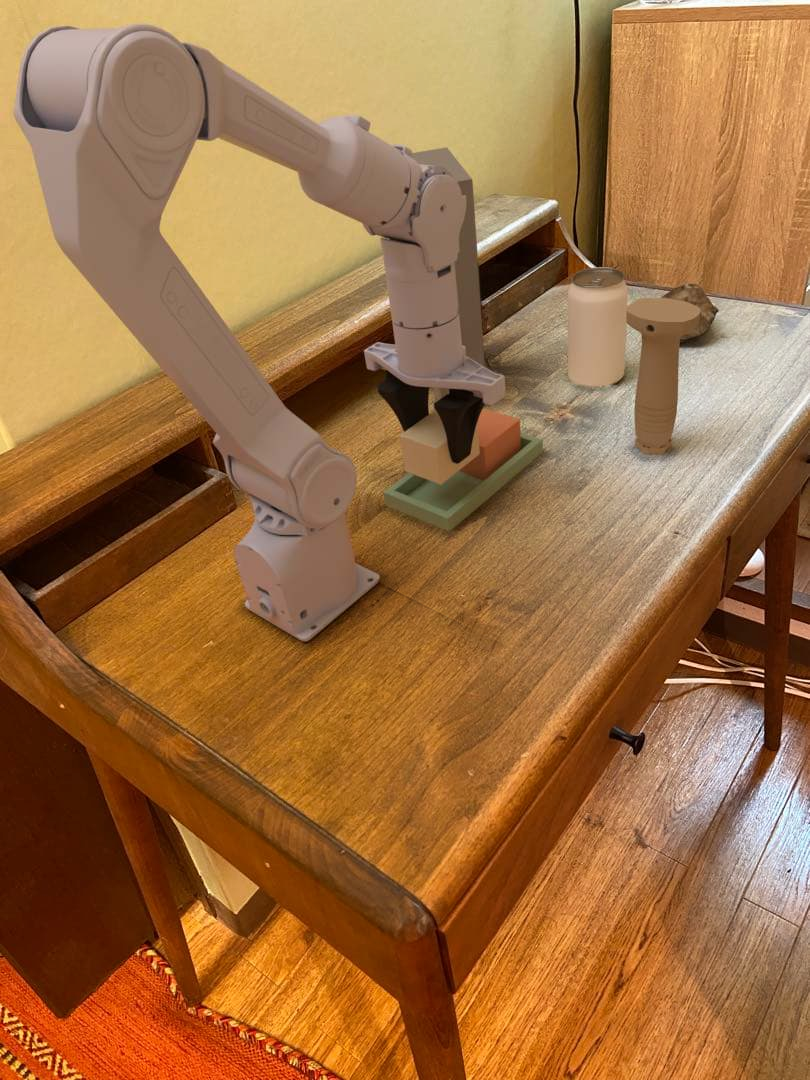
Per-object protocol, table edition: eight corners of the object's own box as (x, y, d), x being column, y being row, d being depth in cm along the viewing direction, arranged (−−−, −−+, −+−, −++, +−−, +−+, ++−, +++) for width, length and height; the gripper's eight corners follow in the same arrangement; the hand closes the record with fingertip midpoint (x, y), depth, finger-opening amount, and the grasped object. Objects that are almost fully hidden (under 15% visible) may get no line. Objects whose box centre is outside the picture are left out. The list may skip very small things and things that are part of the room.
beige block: (441, 485, 76) (436, 448, 73) (404, 471, 78) (399, 435, 76) (480, 454, 79) (477, 418, 77) (443, 441, 82) (439, 406, 79)
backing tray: (449, 535, 76) (447, 518, 75) (385, 508, 81) (382, 491, 80) (543, 455, 85) (542, 439, 84) (480, 435, 89) (479, 419, 88)
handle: (671, 470, 80) (685, 326, 71) (612, 453, 84) (617, 314, 74) (693, 447, 83) (709, 305, 73) (634, 431, 86) (642, 294, 77)
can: (632, 368, 97) (637, 268, 90) (611, 393, 93) (615, 291, 86) (580, 360, 100) (581, 263, 93) (558, 384, 96) (557, 285, 89)
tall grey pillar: (495, 408, 94) (481, 178, 78) (442, 417, 93) (418, 188, 78) (470, 356, 104) (454, 145, 89) (423, 365, 104) (398, 154, 89)
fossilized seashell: (734, 324, 97) (706, 305, 106) (707, 279, 95) (680, 263, 103) (678, 363, 99) (655, 341, 108) (650, 320, 97) (629, 301, 106)
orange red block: (487, 481, 82) (484, 447, 79) (451, 468, 84) (448, 435, 82) (521, 452, 85) (520, 419, 82) (486, 441, 87) (483, 408, 85)
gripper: (523, 311, 67) (528, 451, 76) (392, 284, 76) (410, 413, 84) (471, 346, 64) (483, 489, 72) (339, 313, 72) (363, 445, 80)
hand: (440, 450), depth 78 cm, fingers closed on beige block, 4 cm apart
